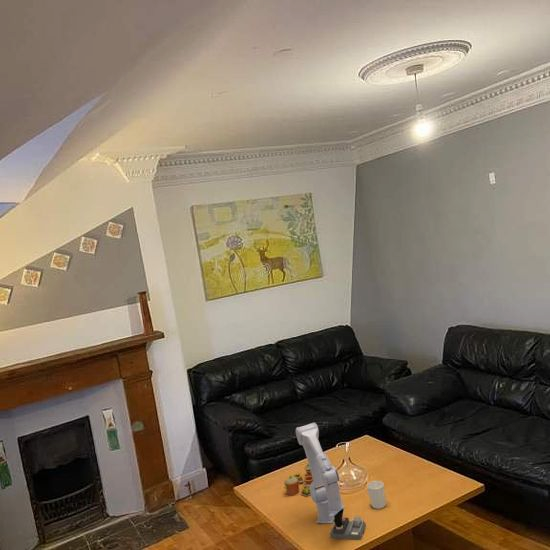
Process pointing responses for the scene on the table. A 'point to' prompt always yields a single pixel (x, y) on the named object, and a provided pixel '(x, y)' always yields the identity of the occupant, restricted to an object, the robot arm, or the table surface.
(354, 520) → the slider knob
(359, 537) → the control panel
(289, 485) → the potted succulent plants
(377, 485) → the white cup
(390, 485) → the table surface
